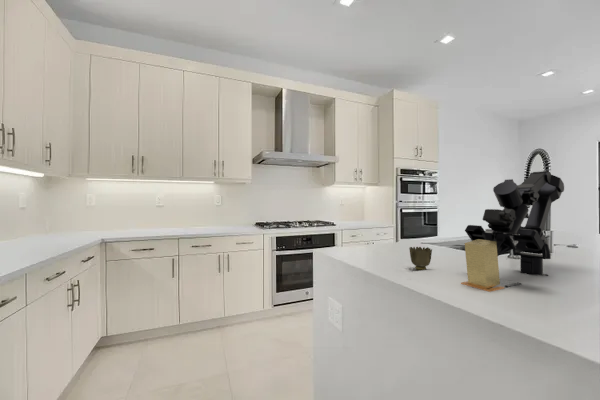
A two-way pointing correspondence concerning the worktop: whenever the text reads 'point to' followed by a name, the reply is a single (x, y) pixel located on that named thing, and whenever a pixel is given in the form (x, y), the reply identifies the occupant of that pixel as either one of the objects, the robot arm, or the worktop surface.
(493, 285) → the brass block
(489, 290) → the silver flat plate
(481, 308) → the worktop surface
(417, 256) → the cup
